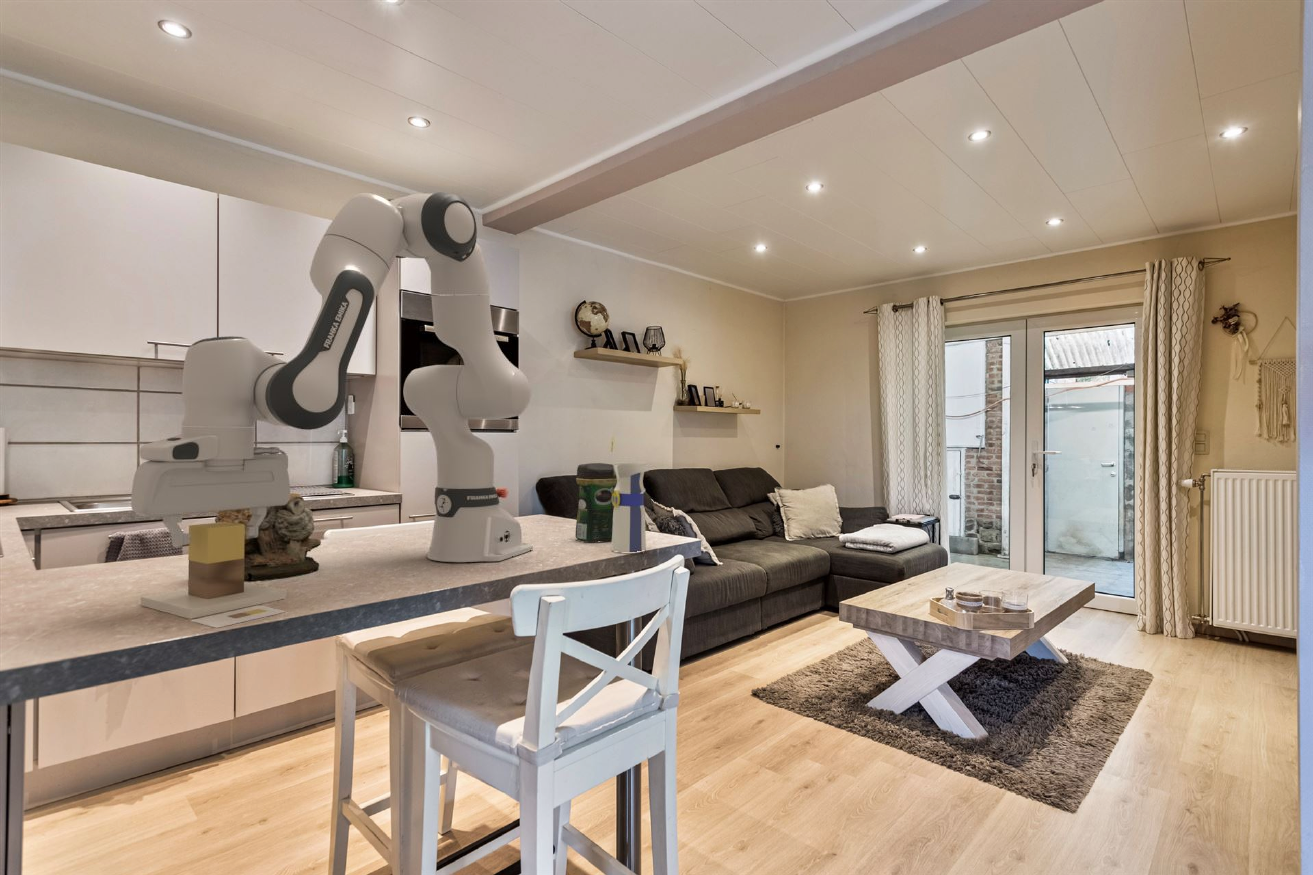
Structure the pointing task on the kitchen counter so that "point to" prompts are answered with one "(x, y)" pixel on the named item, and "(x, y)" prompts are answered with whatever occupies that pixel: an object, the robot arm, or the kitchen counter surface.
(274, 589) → the plate
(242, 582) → the walnut block
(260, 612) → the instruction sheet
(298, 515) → the three owls sculpture
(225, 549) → the mustard block
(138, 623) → the kitchen counter surface
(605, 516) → the coffee jar
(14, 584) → the kitchen counter surface
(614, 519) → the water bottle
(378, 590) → the kitchen counter surface
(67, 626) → the kitchen counter surface
